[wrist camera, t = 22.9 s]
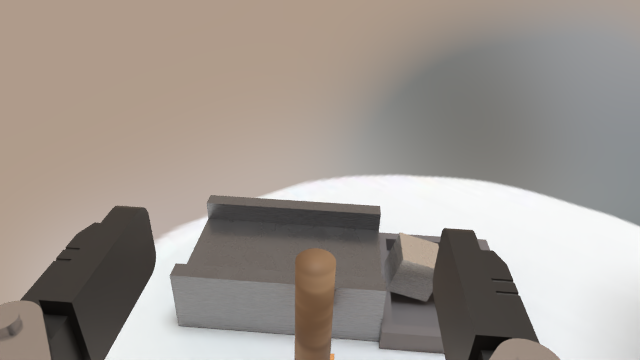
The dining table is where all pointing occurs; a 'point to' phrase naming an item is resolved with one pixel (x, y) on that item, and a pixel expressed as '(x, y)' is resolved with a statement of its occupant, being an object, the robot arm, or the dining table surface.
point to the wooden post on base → (314, 304)
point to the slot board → (280, 266)
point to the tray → (410, 311)
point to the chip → (411, 267)
